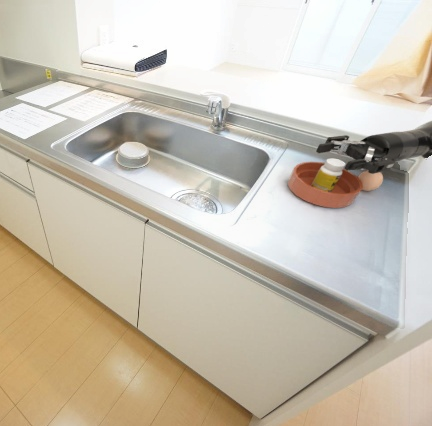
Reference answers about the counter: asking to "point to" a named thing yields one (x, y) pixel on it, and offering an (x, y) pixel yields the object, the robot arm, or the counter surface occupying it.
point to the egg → (370, 180)
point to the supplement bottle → (328, 175)
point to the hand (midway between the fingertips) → (332, 157)
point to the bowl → (336, 198)
